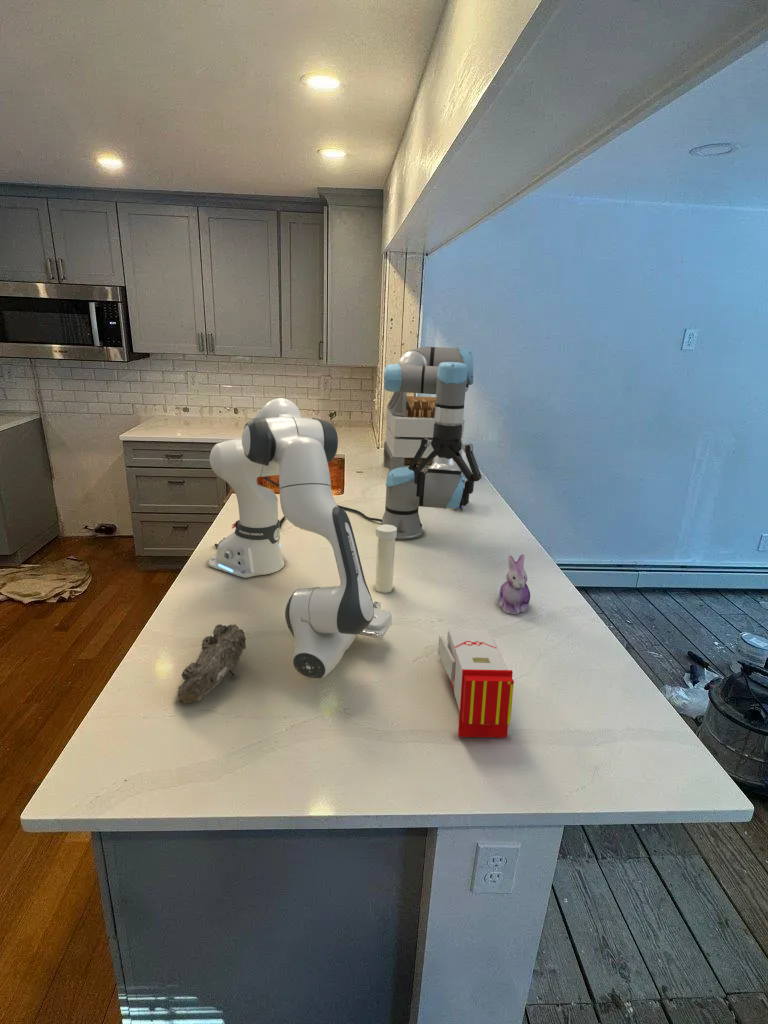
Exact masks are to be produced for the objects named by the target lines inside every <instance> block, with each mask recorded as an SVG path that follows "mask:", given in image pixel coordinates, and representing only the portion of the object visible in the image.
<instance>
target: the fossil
mask: <svg viewBox="0 0 768 1024" xmlns="http://www.w3.org/2000/svg"><path fill="white" fill-rule="evenodd" d="M246 640H247V637H246V633H245V632H244V630H243V629H241V628H240V627H239V626H238V625H237V624H235V623H233V624H231V623H230V624H227V625H223V624H221V623H220V624H216V625H215V627H214V629H213V630H212V635H208V636H205V637H204V638H203V639H202V641H201V650H202V651H201V652H200V653H199V655H198V657H197V660H196V661H193V662H190V664H189V665H187V666H186V667H185V668H184V669H183V670H182V672H181V674H180V675H181V677H182V680H183V682H182V683H181V684H180V685H179V686H178V687H177V689H178V690H177V691H176V692H177V698H178V699H177V700H178V701H179V702H180V701H181V702H183V703H185V704H187V703H192V702H196V701H197V702H200V701H201V700H202V699H203V698H204V697H205V696H206V695H207V694H209V693H210V692H211V691H212V690H213V689H214V688H215V687H216V686H217V685H218V684H219V683H220V682H222V680H223V679H224V677H225V675H227V674H228V673H229V674H230V675H231V676H232V677H236V674H235V673H234V672H233V671H232V670H231V669H232V667H233V666H234V665H236V664H237V663H238V661H239V660H240V659H241V656H242V654H243V652H244V650H246V649H247V641H246Z"/></svg>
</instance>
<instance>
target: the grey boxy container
mask: <svg viewBox="0 0 768 1024" xmlns="http://www.w3.org/2000/svg"><path fill="white" fill-rule="evenodd" d="M407 394H408V393H404V392H398V393H395V392H393V394H392V395H391V398H390V400H389V402H388V404H387V405H386V413H385V414H386V415H385V423H386V428H385V438H384V442H383V466H384V467H388V468H389V472H390V471H391V470H393V469H396V468H399V467H405V466H406V467H409V465H410V463H411V462H412V460H413V458H414V456H415V455H416V453H417V451H418V450H419V448H420V445H421V440H422V439H424V438H426V437H427V438H429V439H430V440H433V430H434V424H435V423H436V422H435V421H434V416H435V405H436V396H415V395H414V396H413V395H412V396H411V395H407ZM461 425H462V437H461V443H462V444H464V443H463V442H464V441H463V440H462V439H463V438H464V431H465V430H464V429H465V419H464V418H463V422H462V423H461ZM433 451H434V449H433V447H432V446H431V444H430V446H428V447H427V448H426V450H425V452H424V454H423V455H422V457H421V459H420V460H419V462H418V464H417V467H418V466H419V465H420V464H421V463H422V462H423V461H424V460H425V459H426V458H427V457H428V456H429V455H430V454H431V453H432V452H433ZM459 453H460V454H461V455H462V453H463V449H461V450H460V451H459ZM432 463H433V460H432V461H431V462H430V463H429V464H427V465H426V466H425V467H429V466H431V465H432Z"/></svg>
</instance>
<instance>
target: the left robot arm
mask: <svg viewBox="0 0 768 1024" xmlns="http://www.w3.org/2000/svg"><path fill="white" fill-rule="evenodd" d="M338 447H339V437H338V432H337V429H336V428H335V426H334V425H333V424H332V423H331V422H329V421H326V420H324V419H320V418H316V417H311V418H309V417H302V414H301V411H300V408H299V407H298V406H297V404H296V403H294V402H293V401H292V400H290V399H287V398H283V397H277V398H274V399H271V400H270V401H268V402H267V403H265V405H263V406H262V407H261V408H260V409H259V411H258V412H257V414H256V415H255V416H254V417H253V418H250V419H248V421H247V422H246V423H245V424H244V427H243V430H242V434H241V438H235V439H228V440H224V441H221V442H218V443H215V444H214V446H212V449H211V451H210V454H209V465H210V468H211V470H212V471H213V473H214V474H215V475H216V476H217V477H218V478H220V479H222V481H224V482H226V483H227V484H228V485H229V486H230V487H231V489H232V490H233V492H234V493H235V496H236V500H237V504H238V505H237V506H238V515H239V517H238V518H239V519H238V520H236V521H235V522H234V523H233V524H231V526H232V527H231V529H232V530H233V529H234V528H235V529H234V532H232V533H230V534H229V535H227V536H226V537H223V538H222V539H221V540H220V541H219V542H218V543H214V547H216V552H215V554H214V555H213V556H212V557H211V558H209V560H208V567H211V568H213V569H216V570H219V571H222V572H225V573H228V574H231V575H234V576H237V577H240V578H244V579H247V578H253V577H256V576H264V575H271V574H275V573H276V572H279V571H280V570H282V569H283V568H284V567H285V559H284V557H283V554H282V544H281V543H280V539H281V526H280V519H279V504H278V503H279V502H280V508H281V511H282V514H283V517H284V516H285V519H286V521H288V522H289V523H290V524H291V525H293V526H295V527H296V528H299V529H301V530H304V531H307V532H310V533H312V534H313V533H314V534H316V535H319V536H321V537H323V538H324V539H326V540H327V541H328V542H329V544H330V546H331V547H332V551H333V554H334V560H335V564H336V568H337V573H338V576H339V580H340V584H339V585H331V586H313V587H302V588H297V589H296V590H295V591H293V593H292V594H291V595H290V597H289V598H288V601H287V603H286V606H285V610H284V619H285V622H286V625H287V628H288V631H289V632H290V633H291V636H292V638H293V639H294V649H293V654H292V663H293V664H292V665H293V667H294V668H295V670H296V672H297V673H299V674H300V675H302V676H303V677H306V678H309V679H322V678H324V677H326V676H328V675H329V674H330V673H331V672H332V671H333V670H334V669H335V668H336V666H337V665H338V664H339V662H340V661H341V660H342V658H343V656H344V654H345V652H346V651H347V650H349V648H350V647H351V645H353V642H355V640H356V638H357V637H358V636H359V635H360V636H365V637H368V638H372V639H373V638H375V639H377V638H378V639H379V638H381V637H384V636H385V634H386V633H387V632H388V631H389V629H390V628H391V627H392V623H393V622H392V621H393V615H392V613H391V611H389V610H386V609H381V607H382V606H381V604H382V603H381V602H380V601H373V598H372V594H371V593H370V590H369V586H368V584H367V582H366V578H365V574H364V570H363V566H362V561H361V558H360V553H359V549H358V546H357V541H356V537H355V533H354V531H353V526H352V523H351V520H350V518H349V515H348V513H347V512H346V510H345V509H341V508H339V507H338V506H337V505H338V504H337V503H336V501H335V499H334V495H333V491H332V481H331V473H330V469H329V463H330V462H332V461H333V460H334V458H336V457H335V456H336V455H337V453H338V449H339V448H338ZM264 476H265V477H272V476H278V478H279V479H278V484H279V487H278V489H279V502H278V497H277V494H276V493H275V492H274V491H273V490H272V489H270V488H268V487H265V486H263V485H260V484H258V478H262V477H264Z"/></svg>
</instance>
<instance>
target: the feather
mask: <svg viewBox="0 0 768 1024" xmlns="http://www.w3.org/2000/svg"><path fill="white" fill-rule="evenodd" d="M285 519H286V517H285V516H284V515H283V517H282V518H281V519H279V522H280V527H282V524H283V522H284V521H285Z"/></svg>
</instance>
